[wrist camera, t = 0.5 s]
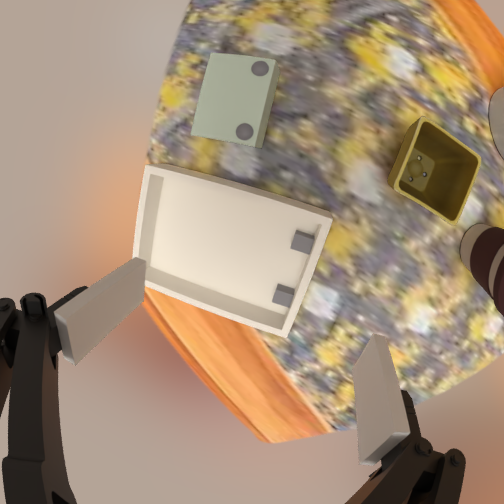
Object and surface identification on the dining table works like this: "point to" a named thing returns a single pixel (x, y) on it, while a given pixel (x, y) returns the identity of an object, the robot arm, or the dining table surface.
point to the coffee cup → (486, 259)
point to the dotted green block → (236, 99)
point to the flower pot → (435, 170)
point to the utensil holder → (497, 119)
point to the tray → (228, 245)
